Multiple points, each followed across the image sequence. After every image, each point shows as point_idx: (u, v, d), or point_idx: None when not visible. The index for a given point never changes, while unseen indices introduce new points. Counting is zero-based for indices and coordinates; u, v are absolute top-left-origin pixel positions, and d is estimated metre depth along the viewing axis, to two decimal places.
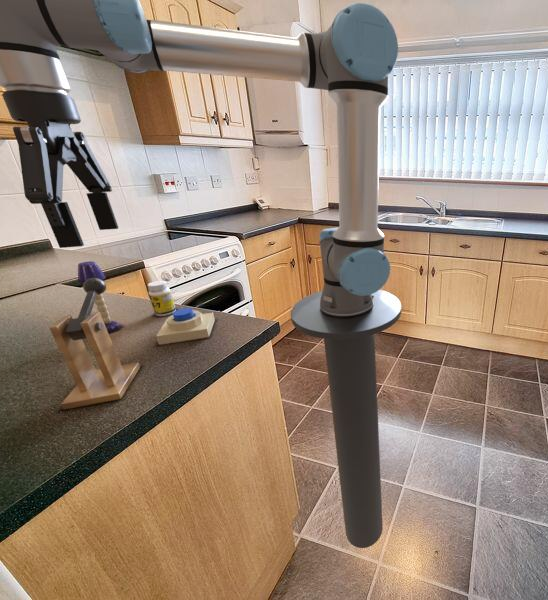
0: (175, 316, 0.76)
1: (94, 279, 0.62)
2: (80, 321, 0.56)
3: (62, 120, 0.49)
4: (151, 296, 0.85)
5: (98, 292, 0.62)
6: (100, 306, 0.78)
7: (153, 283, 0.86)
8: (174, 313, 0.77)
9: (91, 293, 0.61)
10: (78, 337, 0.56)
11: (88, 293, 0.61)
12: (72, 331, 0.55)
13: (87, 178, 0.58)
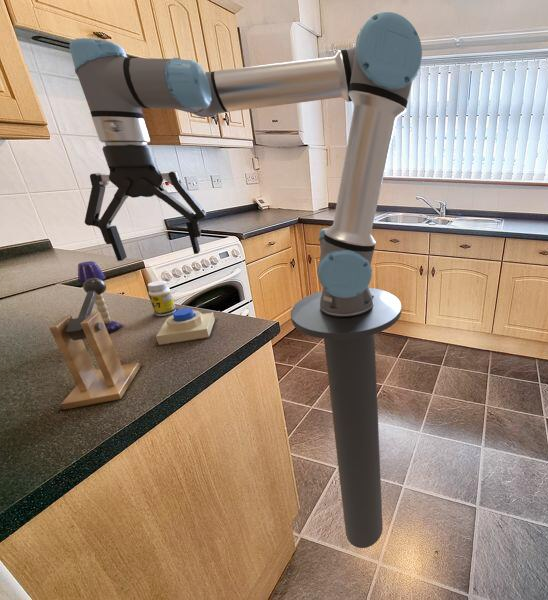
0: (175, 316, 0.76)
1: (94, 279, 0.62)
2: (80, 321, 0.56)
3: None
4: (151, 296, 0.85)
5: (98, 292, 0.62)
6: (100, 306, 0.78)
7: (153, 283, 0.86)
8: (174, 313, 0.77)
9: (91, 293, 0.61)
10: (78, 337, 0.56)
11: (88, 293, 0.61)
12: (72, 331, 0.55)
13: (115, 213, 0.65)
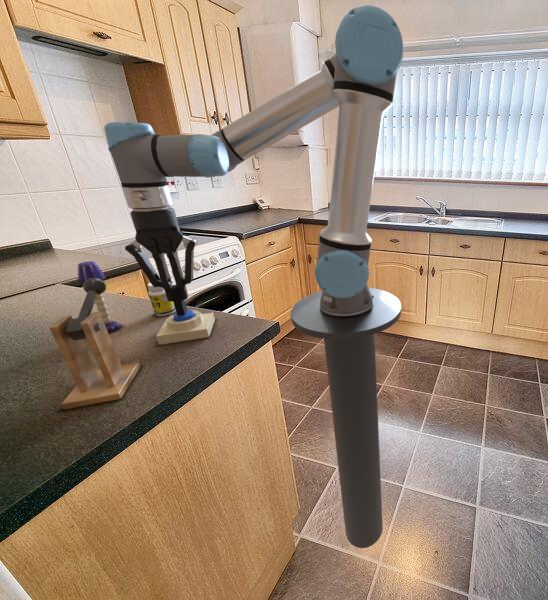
0: (176, 318, 0.76)
1: (94, 279, 0.62)
2: (80, 321, 0.56)
3: None
4: (151, 296, 0.85)
5: (98, 292, 0.62)
6: (100, 306, 0.78)
7: None
8: (175, 315, 0.77)
9: (91, 293, 0.61)
10: (78, 337, 0.56)
11: (88, 293, 0.61)
12: (72, 331, 0.55)
13: (166, 271, 0.73)
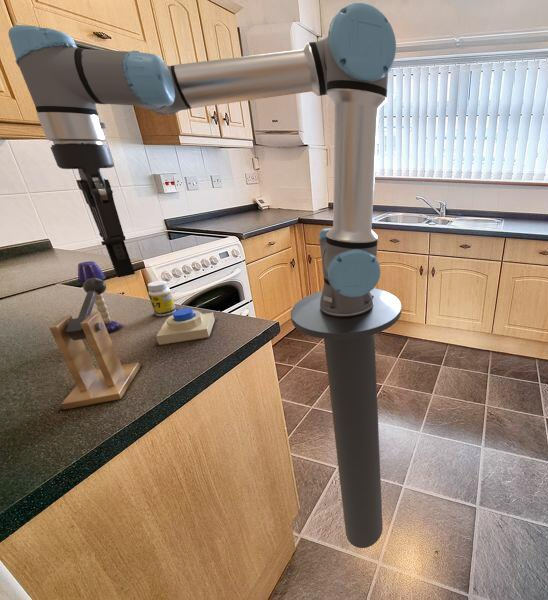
0: (175, 316, 0.76)
1: (94, 279, 0.62)
2: (80, 321, 0.56)
3: None
4: (151, 296, 0.85)
5: (98, 292, 0.62)
6: (100, 306, 0.78)
7: (153, 283, 0.86)
8: (174, 313, 0.77)
9: (91, 293, 0.61)
10: (78, 337, 0.56)
11: (88, 293, 0.61)
12: (72, 331, 0.55)
13: None
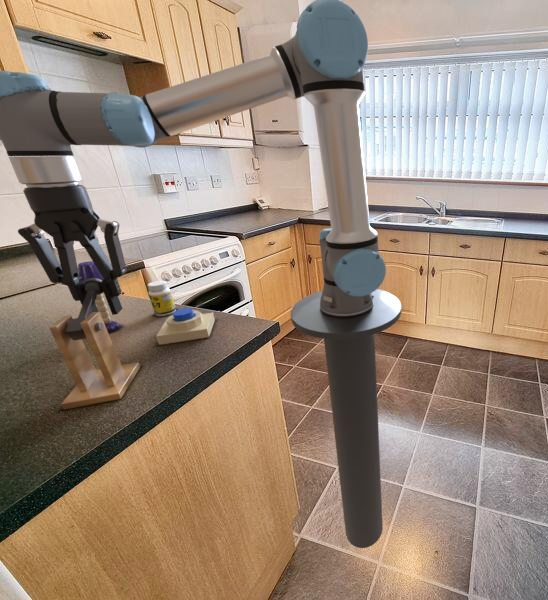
0: (175, 316, 0.76)
1: (94, 279, 0.62)
2: (80, 321, 0.56)
3: (36, 211, 0.54)
4: (151, 296, 0.85)
5: (98, 292, 0.62)
6: (100, 306, 0.78)
7: (153, 283, 0.86)
8: (174, 313, 0.77)
9: (91, 293, 0.61)
10: (78, 337, 0.56)
11: (88, 293, 0.61)
12: (72, 331, 0.55)
13: None
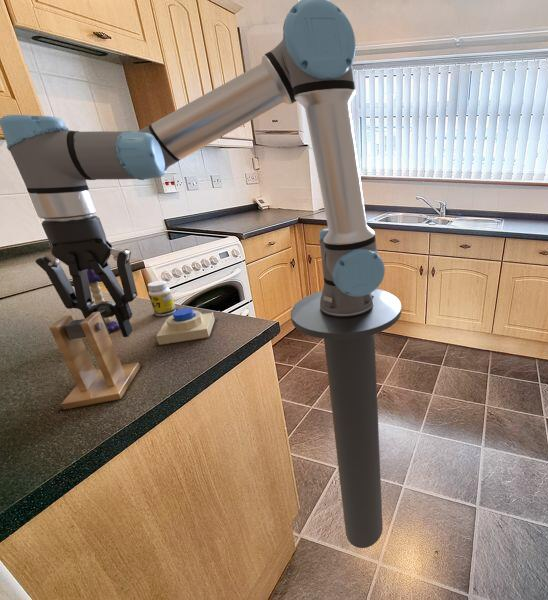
0: (175, 316, 0.76)
1: (108, 301, 0.65)
2: (82, 320, 0.57)
3: (53, 243, 0.57)
4: (151, 296, 0.85)
5: (108, 312, 0.64)
6: None
7: (153, 283, 0.86)
8: (174, 313, 0.77)
9: (101, 310, 0.63)
10: (75, 335, 0.55)
11: (98, 311, 0.63)
12: (71, 326, 0.55)
13: None
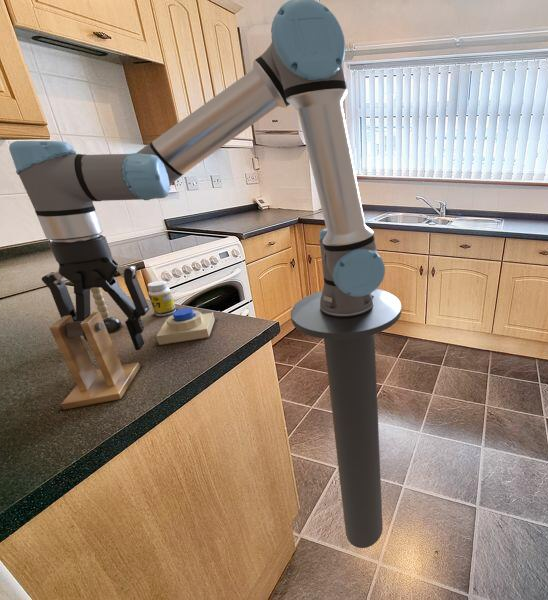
0: (175, 316, 0.76)
1: (113, 317, 0.66)
2: None
3: (61, 263, 0.58)
4: (151, 296, 0.85)
5: (111, 326, 0.65)
6: (100, 306, 0.78)
7: (153, 283, 0.86)
8: (174, 313, 0.77)
9: (105, 323, 0.64)
10: (74, 333, 0.55)
11: None
12: (72, 323, 0.55)
13: None
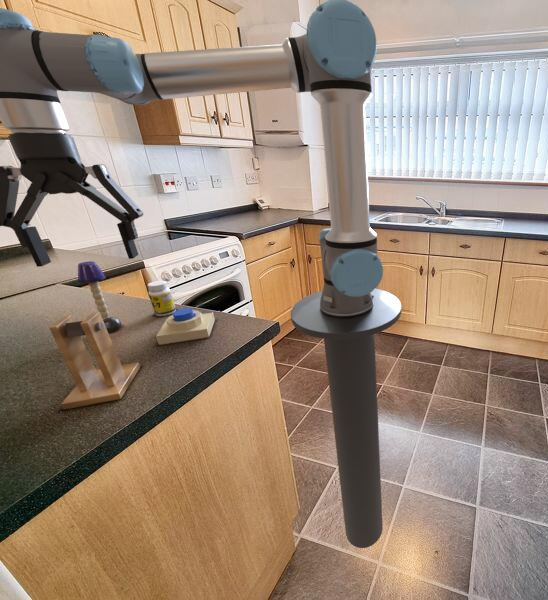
0: (175, 316, 0.76)
1: (113, 317, 0.66)
2: None
3: (21, 158, 0.52)
4: (151, 296, 0.85)
5: (111, 326, 0.65)
6: (100, 306, 0.78)
7: (153, 283, 0.86)
8: (174, 313, 0.77)
9: (105, 323, 0.64)
10: (74, 333, 0.55)
11: None
12: (72, 323, 0.55)
13: None
